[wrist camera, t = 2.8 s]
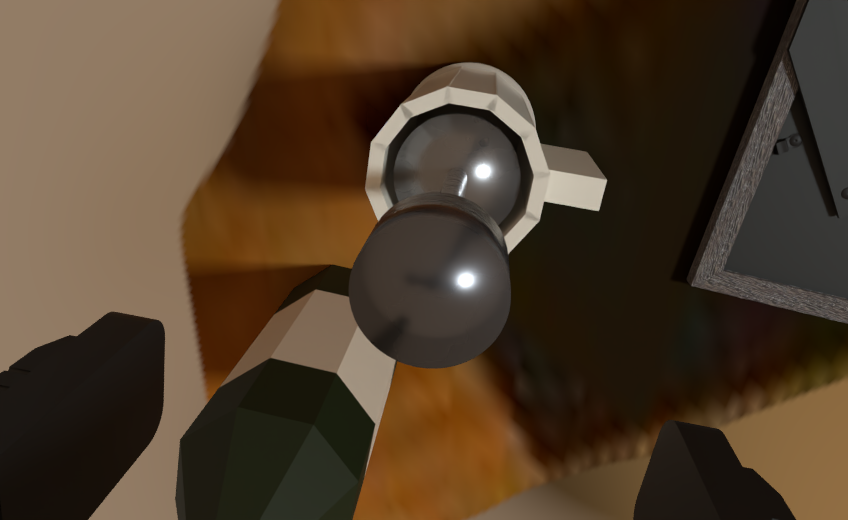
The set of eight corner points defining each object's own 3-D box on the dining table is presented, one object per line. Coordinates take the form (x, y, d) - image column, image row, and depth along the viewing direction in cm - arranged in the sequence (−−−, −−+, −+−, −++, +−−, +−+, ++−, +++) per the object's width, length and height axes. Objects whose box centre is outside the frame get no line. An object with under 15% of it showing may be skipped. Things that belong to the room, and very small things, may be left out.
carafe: (590, 82, 37) (638, 111, 25) (558, 213, 39) (587, 298, 27) (412, 51, 37) (373, 65, 25) (393, 183, 40) (349, 254, 28)
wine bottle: (325, 239, 42) (-23, 690, 14) (433, 310, 42) (317, 870, 14) (263, 333, 44) (-132, 869, 16) (366, 398, 45) (158, 1010, 17)
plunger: (532, 124, 26) (564, 210, 14) (506, 245, 28) (515, 411, 16) (405, 102, 26) (332, 168, 14) (387, 223, 28) (309, 371, 16)
